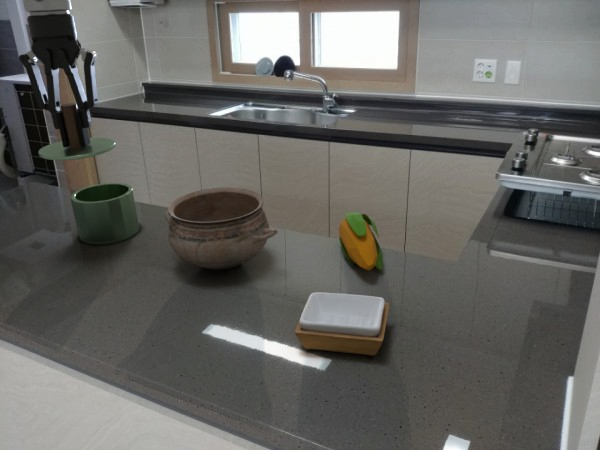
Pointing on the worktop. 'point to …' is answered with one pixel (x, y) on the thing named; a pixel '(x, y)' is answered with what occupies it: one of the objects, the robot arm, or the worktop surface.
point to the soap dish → (343, 323)
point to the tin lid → (74, 141)
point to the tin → (105, 213)
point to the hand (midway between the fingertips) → (77, 144)
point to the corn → (360, 241)
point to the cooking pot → (218, 227)
